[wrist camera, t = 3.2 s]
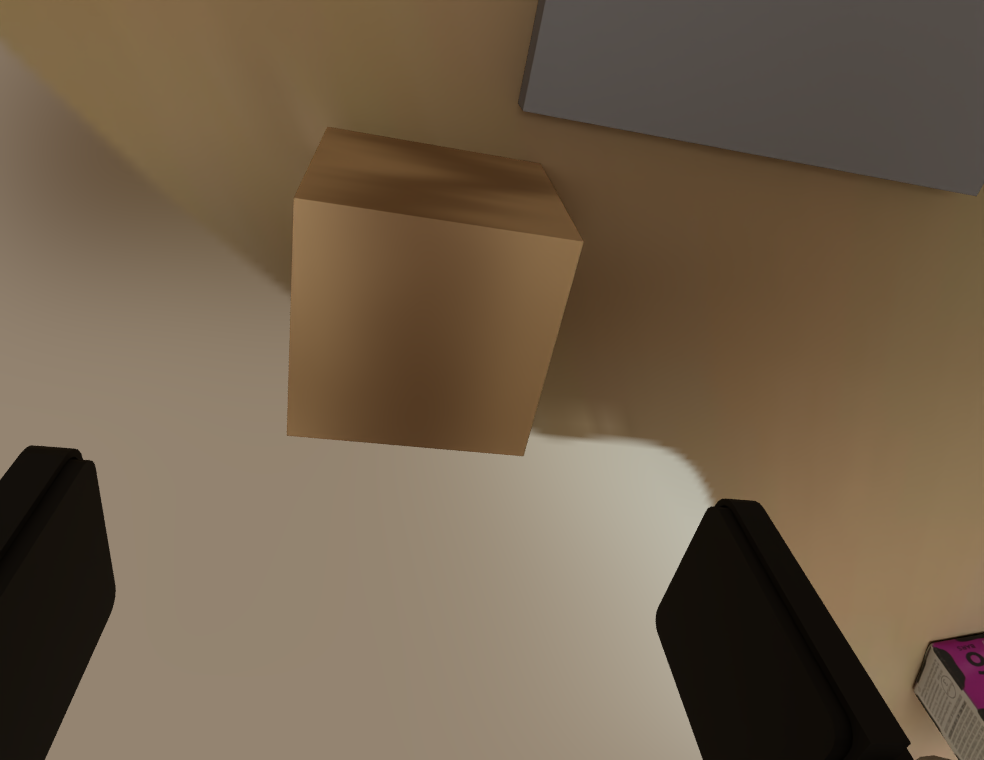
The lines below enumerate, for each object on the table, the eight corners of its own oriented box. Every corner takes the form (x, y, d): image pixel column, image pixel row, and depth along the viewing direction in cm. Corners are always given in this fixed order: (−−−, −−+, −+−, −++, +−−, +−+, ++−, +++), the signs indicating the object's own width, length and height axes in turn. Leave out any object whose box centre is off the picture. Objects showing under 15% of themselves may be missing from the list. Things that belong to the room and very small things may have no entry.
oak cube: (540, 162, 19) (583, 241, 14) (499, 340, 22) (523, 455, 17) (327, 126, 18) (294, 197, 13) (317, 318, 21) (286, 435, 16)
